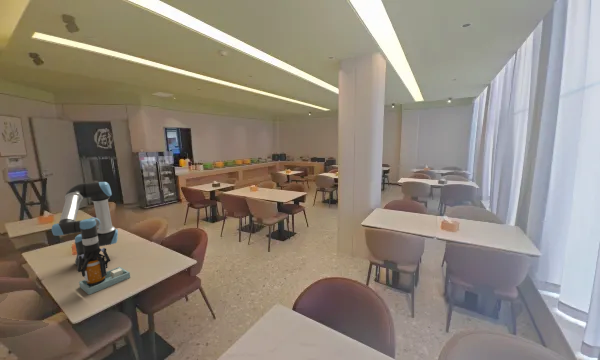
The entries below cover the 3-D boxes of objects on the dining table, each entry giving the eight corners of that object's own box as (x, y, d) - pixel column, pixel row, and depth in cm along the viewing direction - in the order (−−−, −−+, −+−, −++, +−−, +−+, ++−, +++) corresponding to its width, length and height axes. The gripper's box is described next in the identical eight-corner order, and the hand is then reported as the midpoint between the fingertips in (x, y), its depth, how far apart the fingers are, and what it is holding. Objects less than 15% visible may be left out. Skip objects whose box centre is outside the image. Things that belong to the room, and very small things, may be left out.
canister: (94, 279, 155) (90, 251, 152) (112, 278, 156) (108, 250, 153) (83, 287, 146) (78, 257, 143) (102, 286, 147) (97, 256, 144)
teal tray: (80, 288, 149) (78, 281, 149) (120, 272, 168) (119, 266, 167) (89, 295, 141) (88, 289, 140) (130, 278, 159) (129, 272, 159)
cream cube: (111, 278, 159) (110, 271, 158) (120, 274, 163) (119, 268, 162) (114, 280, 156) (113, 273, 155) (123, 276, 160) (122, 269, 160)
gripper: (69, 251, 136) (75, 287, 139) (113, 238, 154) (118, 270, 157) (65, 248, 139) (71, 283, 142) (109, 236, 158) (113, 267, 161)
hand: (96, 276), depth 150 cm, fingers closed on canister, 9 cm apart
